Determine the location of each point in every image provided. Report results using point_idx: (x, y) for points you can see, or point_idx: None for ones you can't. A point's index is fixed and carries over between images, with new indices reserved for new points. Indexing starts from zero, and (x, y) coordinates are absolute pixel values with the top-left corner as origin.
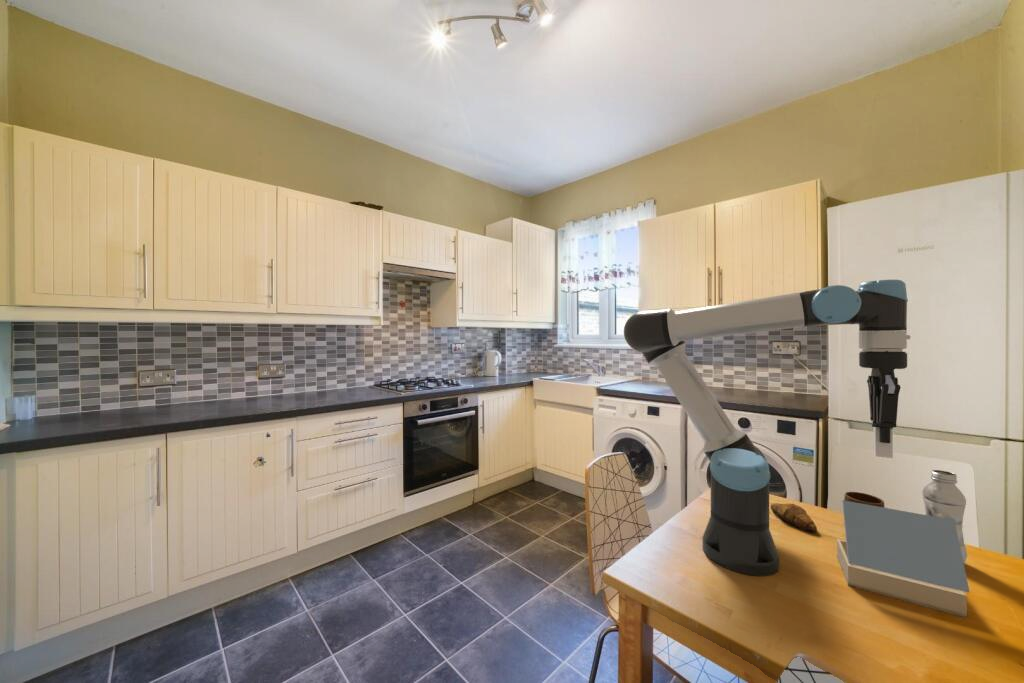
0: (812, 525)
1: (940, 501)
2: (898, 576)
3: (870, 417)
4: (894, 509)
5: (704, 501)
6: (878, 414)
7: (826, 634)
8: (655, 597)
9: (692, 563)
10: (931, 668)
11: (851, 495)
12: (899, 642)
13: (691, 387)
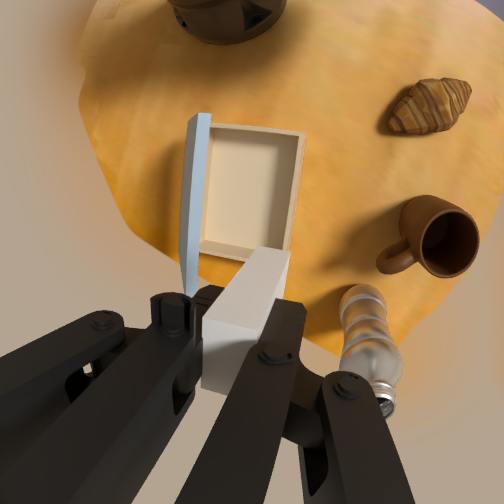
0: (393, 122)
1: (346, 352)
2: (267, 204)
3: (352, 387)
4: (190, 211)
5: None
6: (97, 379)
7: (109, 89)
8: None
9: None
10: (104, 164)
11: (472, 229)
12: (124, 150)
13: None
